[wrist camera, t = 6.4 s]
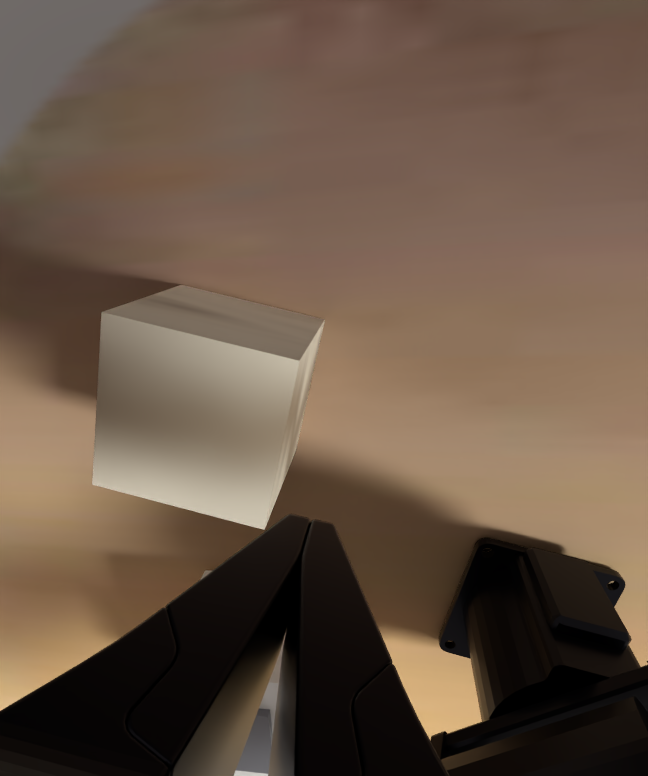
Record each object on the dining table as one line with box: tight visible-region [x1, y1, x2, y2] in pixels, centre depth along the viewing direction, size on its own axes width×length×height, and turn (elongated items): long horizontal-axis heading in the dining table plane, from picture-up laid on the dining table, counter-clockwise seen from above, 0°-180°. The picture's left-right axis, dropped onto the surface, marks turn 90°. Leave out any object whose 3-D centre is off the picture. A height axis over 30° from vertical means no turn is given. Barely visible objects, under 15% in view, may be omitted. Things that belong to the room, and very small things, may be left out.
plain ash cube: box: [92, 285, 325, 530], centre depth 18 cm, size 6×6×6 cm
